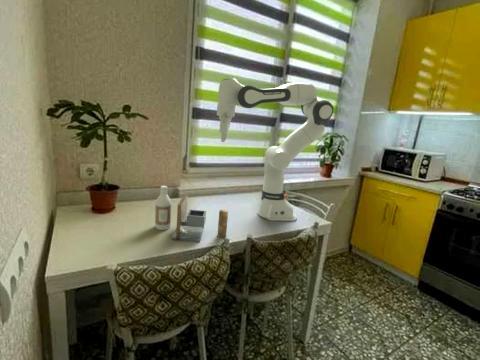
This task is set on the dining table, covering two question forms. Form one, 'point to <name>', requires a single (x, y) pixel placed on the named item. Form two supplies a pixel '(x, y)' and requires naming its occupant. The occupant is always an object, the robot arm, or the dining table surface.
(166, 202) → the bath foam
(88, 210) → the dining table surface
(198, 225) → the cup bracket
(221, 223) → the oak rail post
